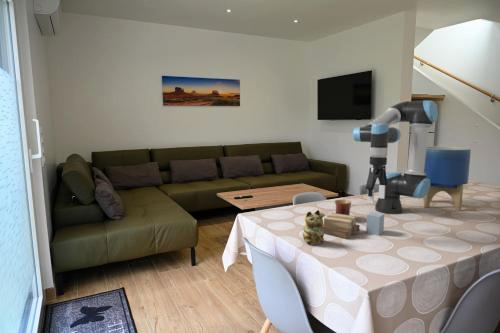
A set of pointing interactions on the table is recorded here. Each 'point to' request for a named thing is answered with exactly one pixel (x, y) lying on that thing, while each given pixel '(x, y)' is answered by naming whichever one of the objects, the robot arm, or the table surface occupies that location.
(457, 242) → the table surface
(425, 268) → the table surface
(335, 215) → the slab upper
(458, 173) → the planter
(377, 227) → the block
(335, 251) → the table surface
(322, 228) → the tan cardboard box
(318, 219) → the decorative figurine
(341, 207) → the mug
